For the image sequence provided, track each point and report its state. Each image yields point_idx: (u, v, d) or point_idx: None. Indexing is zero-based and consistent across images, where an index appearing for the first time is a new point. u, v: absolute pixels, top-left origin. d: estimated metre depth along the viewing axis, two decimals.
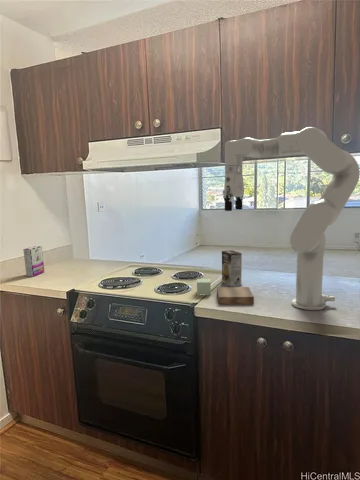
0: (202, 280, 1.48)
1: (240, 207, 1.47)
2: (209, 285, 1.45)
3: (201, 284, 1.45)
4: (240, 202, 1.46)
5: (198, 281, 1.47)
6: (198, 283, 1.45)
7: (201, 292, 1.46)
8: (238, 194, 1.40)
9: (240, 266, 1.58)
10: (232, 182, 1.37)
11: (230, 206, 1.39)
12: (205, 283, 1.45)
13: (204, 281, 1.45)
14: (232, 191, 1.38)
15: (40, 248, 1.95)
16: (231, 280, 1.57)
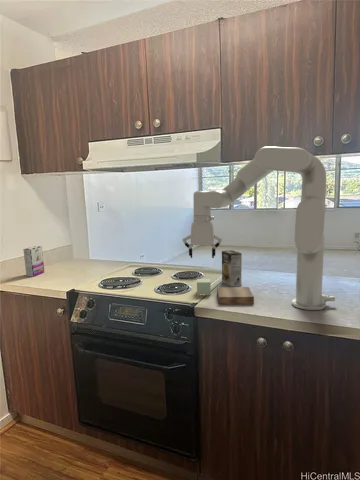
0: (202, 280, 1.48)
1: None
2: (209, 285, 1.45)
3: (201, 284, 1.45)
4: None
5: (198, 281, 1.47)
6: (198, 283, 1.45)
7: (201, 292, 1.46)
8: None
9: (240, 266, 1.58)
10: None
11: None
12: (205, 282, 1.45)
13: (204, 281, 1.46)
14: None
15: (40, 248, 1.95)
16: (231, 280, 1.57)
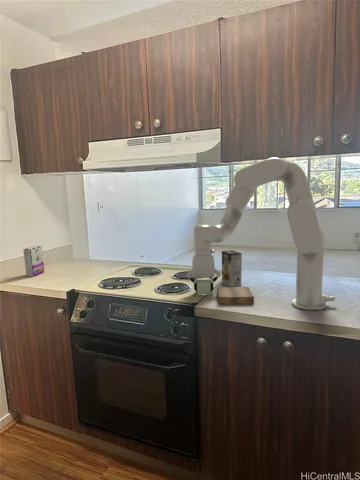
0: (202, 280, 1.48)
1: None
2: (209, 285, 1.45)
3: (201, 284, 1.45)
4: None
5: (198, 281, 1.47)
6: (198, 283, 1.45)
7: (201, 292, 1.46)
8: None
9: (240, 266, 1.58)
10: None
11: None
12: (205, 282, 1.45)
13: (204, 281, 1.46)
14: None
15: (40, 248, 1.95)
16: (231, 280, 1.57)
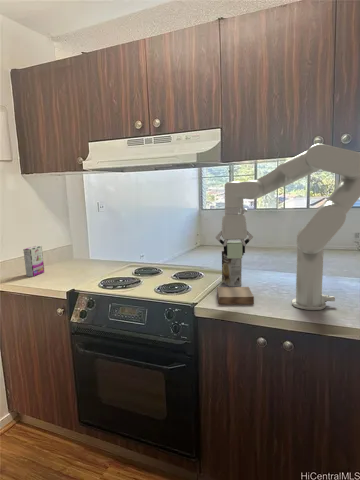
0: (232, 242, 1.37)
1: None
2: (241, 247, 1.34)
3: (232, 246, 1.34)
4: None
5: (228, 243, 1.35)
6: (229, 245, 1.34)
7: (232, 255, 1.34)
8: None
9: (240, 266, 1.58)
10: None
11: None
12: (237, 244, 1.34)
13: (236, 243, 1.34)
14: None
15: (40, 248, 1.95)
16: (231, 280, 1.57)
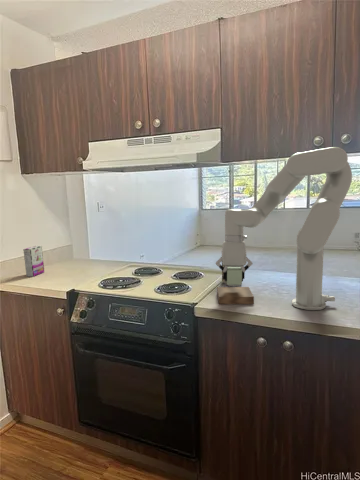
0: (232, 268, 1.39)
1: None
2: (240, 273, 1.35)
3: (232, 272, 1.35)
4: None
5: (228, 269, 1.37)
6: (229, 271, 1.35)
7: (232, 281, 1.36)
8: None
9: None
10: None
11: None
12: (236, 271, 1.35)
13: (235, 269, 1.36)
14: None
15: (40, 248, 1.95)
16: None
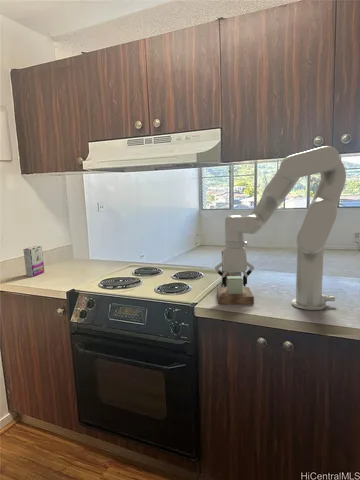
0: (233, 277, 1.39)
1: None
2: (241, 283, 1.36)
3: (233, 282, 1.36)
4: None
5: (229, 278, 1.37)
6: (229, 281, 1.36)
7: (232, 290, 1.36)
8: None
9: None
10: None
11: None
12: (237, 280, 1.36)
13: (236, 279, 1.36)
14: None
15: (40, 248, 1.95)
16: None
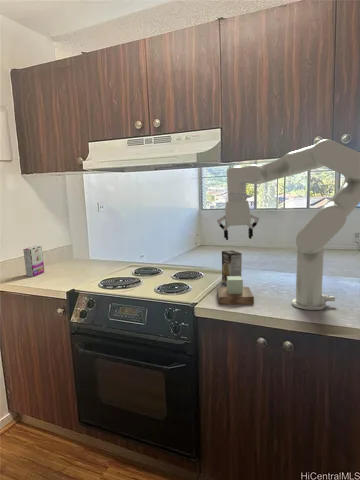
0: (233, 277, 1.39)
1: None
2: (241, 283, 1.36)
3: (233, 282, 1.36)
4: None
5: (229, 278, 1.37)
6: (229, 281, 1.36)
7: (232, 290, 1.36)
8: None
9: (240, 266, 1.58)
10: None
11: None
12: (237, 280, 1.36)
13: (236, 279, 1.36)
14: None
15: (40, 248, 1.95)
16: None
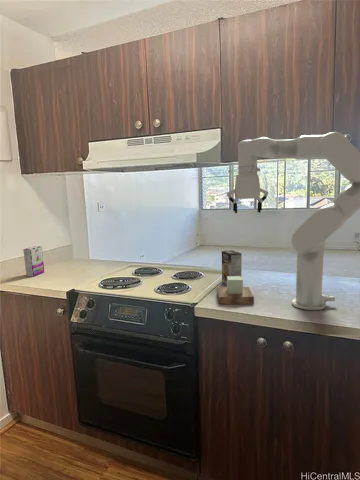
0: (233, 277, 1.39)
1: None
2: (241, 283, 1.36)
3: (233, 282, 1.36)
4: None
5: (229, 278, 1.37)
6: (229, 281, 1.36)
7: (232, 290, 1.36)
8: None
9: (240, 266, 1.58)
10: None
11: None
12: (237, 280, 1.36)
13: (236, 279, 1.36)
14: None
15: (40, 248, 1.95)
16: None
